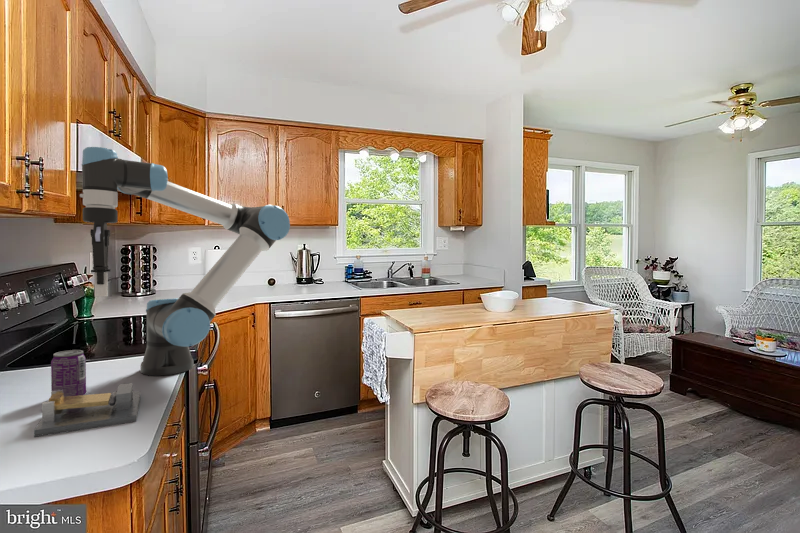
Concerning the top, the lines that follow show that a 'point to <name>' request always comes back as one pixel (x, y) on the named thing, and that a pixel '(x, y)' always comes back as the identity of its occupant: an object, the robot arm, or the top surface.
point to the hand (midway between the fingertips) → (101, 296)
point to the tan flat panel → (82, 400)
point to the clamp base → (89, 414)
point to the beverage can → (69, 372)
